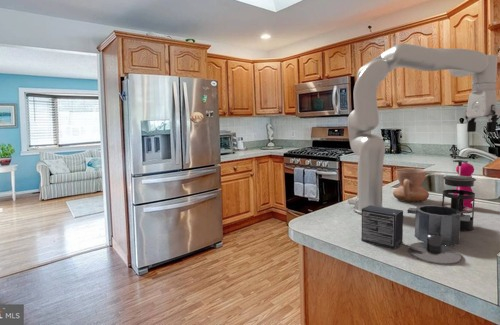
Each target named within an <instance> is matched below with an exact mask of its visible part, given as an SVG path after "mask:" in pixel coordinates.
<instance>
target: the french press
mask: <svg viewBox="0 0 500 325" xmlns="http://www.w3.org/2000/svg"><path fill="white" fill-rule="evenodd" d="M466 160H467V159H466ZM466 160H465V159H455V160H452V162H453V163H458V164H457V166H459V176H457V175H447V176H444V177H443V179H444V184H445V185H446V186H451V187H456V188H457V187H458V190H456V189H451V188H450V189H444V190H443V191H442V201H441V202H442V205H441V206H445V207H450V208H454V209H457V210H458V211H460V212H461V214H472V215H471V216H470V221H462V220H460V232H471V231H473V230H474V228H475V227H474V217H475V216H474V213H475V201H476V193H475V192H474V191H473V192H470V191H465V190H459V187H471V188H472V187H473V186H475V181H476V178H475V177H472V178H471V177H465V176H460V168H461V166H462V163H463V162H468V163H469V160H468V161H466ZM454 193H458V195H453V194H454ZM464 194H466V195H464ZM445 198H450V204H448V205H447V204H446V205H445ZM464 199H473V201H472V204H473V205H472V209H471V208H469V207H465V206H463V204H464Z"/></svg>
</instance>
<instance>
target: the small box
mask: <svg viewBox="0 0 500 325" xmlns="http://www.w3.org/2000/svg"><path fill="white" fill-rule="evenodd" d="M403 229H404V210H402V209H396V208H390V207H384V206H382V207H378V206H372V205H369V206H367V207H365V208H362V214H361V239H360V240H361V242H365V243H368V244H373V245H378V246H381V247H385V248H388V249H392V250H396V249H398V247H400V246H401V245H402V244H403V236H404V235H403V231H404V230H403Z"/></svg>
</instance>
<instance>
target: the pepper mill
mask: <svg viewBox="0 0 500 325" xmlns="http://www.w3.org/2000/svg"><path fill="white" fill-rule="evenodd" d="M464 160H466V161H468V162H462V166H461V168H460V176H465V177H471V178H473V175H472V174H474V173H475V168H474V165H472V164H471V163H469V160H468V159H467V158H466V159H464ZM455 171H456V173H457V175H456V176H459V166H458V165H457V166H456V167H455ZM455 190H458V187H456V188H455ZM459 190H465V191H470V192H473V193H474V191H473V189H472V187H459ZM452 194H453V195H458V193H452ZM464 195H466V194H464ZM463 206H465V207H469V208H471V209H473V199H464V204H463Z"/></svg>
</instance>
